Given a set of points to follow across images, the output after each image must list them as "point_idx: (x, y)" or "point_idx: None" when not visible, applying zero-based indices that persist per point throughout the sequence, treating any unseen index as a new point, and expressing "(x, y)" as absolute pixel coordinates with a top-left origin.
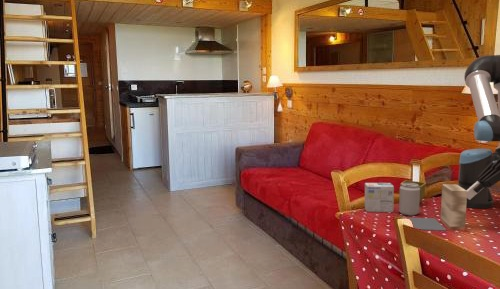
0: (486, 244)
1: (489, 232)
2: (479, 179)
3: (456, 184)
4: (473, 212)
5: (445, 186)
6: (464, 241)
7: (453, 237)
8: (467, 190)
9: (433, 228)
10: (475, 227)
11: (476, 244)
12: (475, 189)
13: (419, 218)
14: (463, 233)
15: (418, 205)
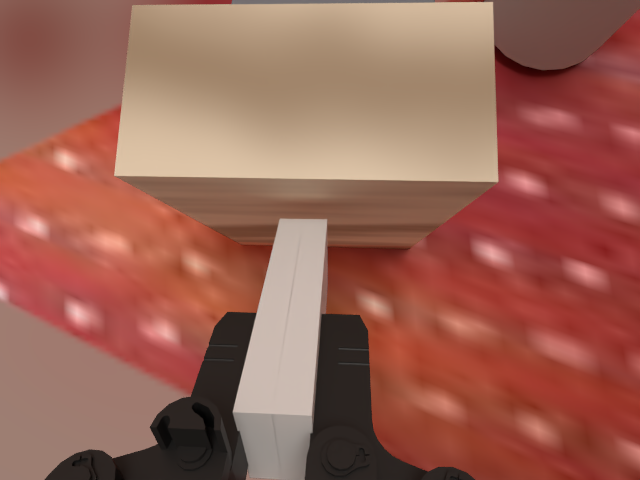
0: (32, 268)
1: None
2: (315, 476)
3: (493, 176)
4: (635, 459)
5: (363, 4)
6: (73, 177)
7: None
8: (300, 257)
9: None
10: None
11: (33, 219)
12: (216, 325)
13: None
14: (189, 217)
15: (531, 22)
